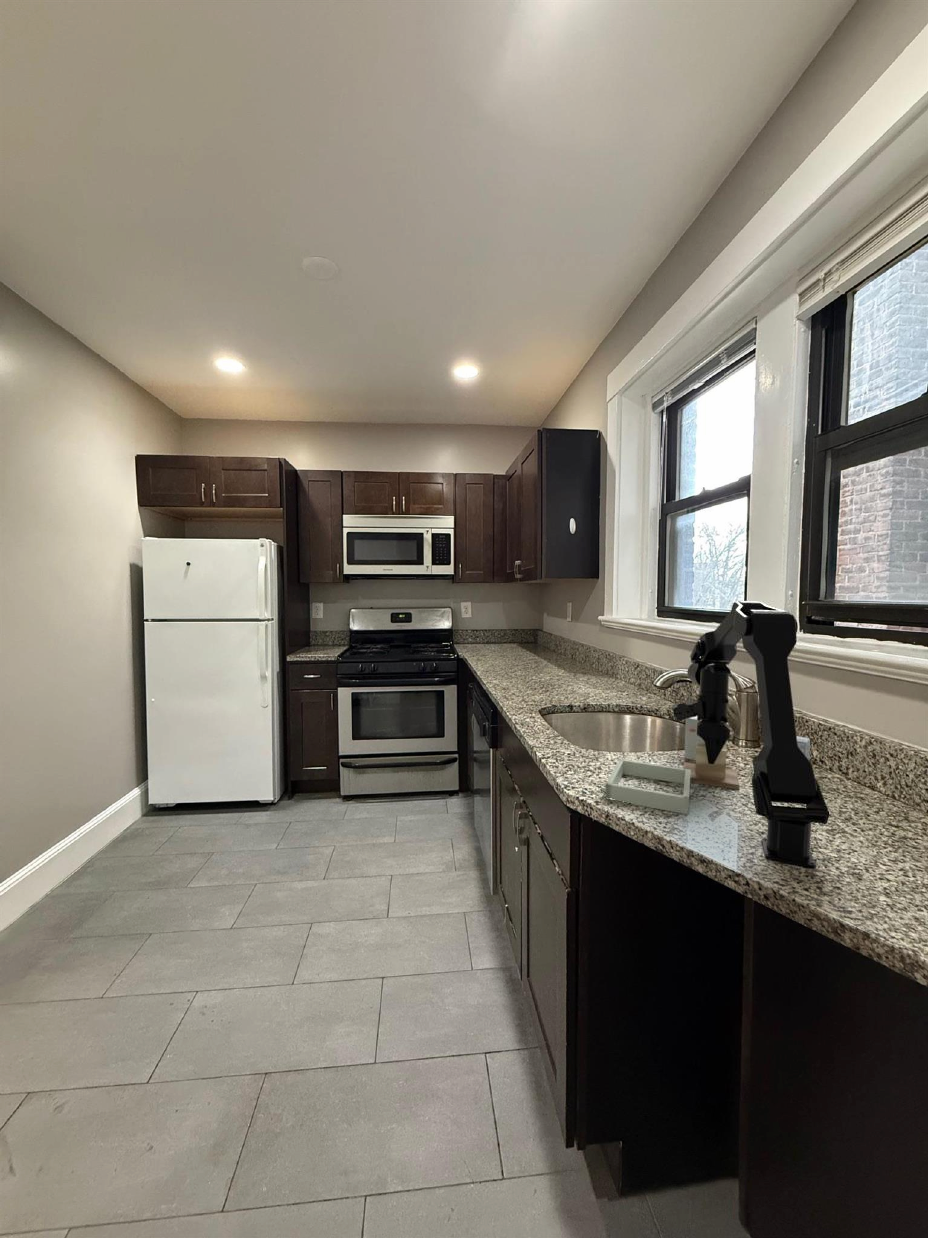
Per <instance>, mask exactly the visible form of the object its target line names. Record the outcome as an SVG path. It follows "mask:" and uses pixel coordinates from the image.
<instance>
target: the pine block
mask: <svg viewBox="0 0 928 1238" xmlns="http://www.w3.org/2000/svg"><path fill="white" fill-rule="evenodd" d="M727 752H728V751H727V746H726V745H724V746H723V748H722V750H721V752H720V754H719V755H718V757H717V759H716V761H715V763H714V764H709V763H708V758H707V753H706V747H705V743H698V742H697V746H696V760H695V764H696V768H695V774H700V775H707V776H713V777H720V778H725V774H726V768H727Z"/></svg>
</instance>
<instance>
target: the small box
mask: <svg viewBox="0 0 928 1238" xmlns="http://www.w3.org/2000/svg"><path fill="white" fill-rule="evenodd" d="M700 721H701V720H700ZM700 721H699V720H697V716H696V717H692V718H687V719H685V730H684V732H685V733H684V734H685V735H684V759H687V760H692V761H696V746H697V742H698V743H705V742H704V740H703V739H702V738H701V737H699V736H698V735H697V723H698V722H700Z"/></svg>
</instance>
